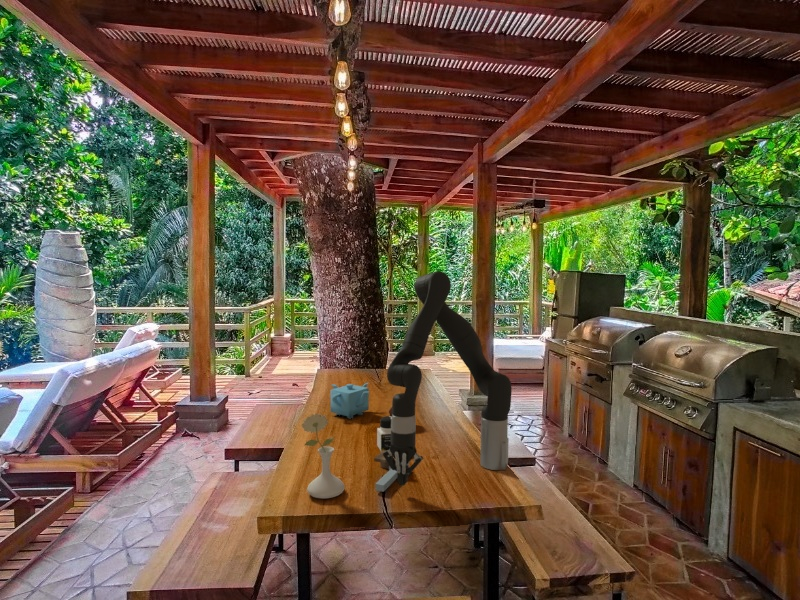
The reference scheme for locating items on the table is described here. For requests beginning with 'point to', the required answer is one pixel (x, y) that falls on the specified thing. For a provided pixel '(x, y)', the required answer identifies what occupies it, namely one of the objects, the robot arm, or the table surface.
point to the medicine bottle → (384, 434)
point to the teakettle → (349, 400)
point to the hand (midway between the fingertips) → (402, 484)
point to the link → (386, 480)
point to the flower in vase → (326, 481)
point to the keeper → (382, 460)
